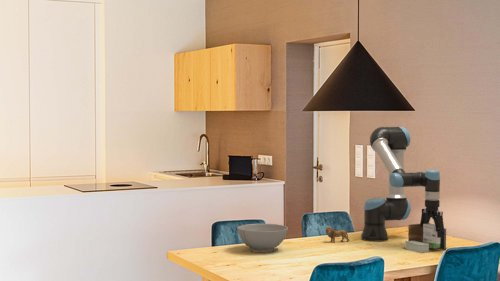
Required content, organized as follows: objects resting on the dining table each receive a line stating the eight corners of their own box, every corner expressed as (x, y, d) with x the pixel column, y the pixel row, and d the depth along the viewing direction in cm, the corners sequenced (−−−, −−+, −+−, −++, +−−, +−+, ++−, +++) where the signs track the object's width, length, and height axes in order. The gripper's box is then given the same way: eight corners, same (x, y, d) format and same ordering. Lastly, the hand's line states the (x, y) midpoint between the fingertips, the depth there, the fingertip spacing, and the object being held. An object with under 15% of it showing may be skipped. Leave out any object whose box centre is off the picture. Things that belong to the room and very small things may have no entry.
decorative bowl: (228, 252, 379) (228, 229, 378) (250, 243, 403) (250, 222, 402) (275, 256, 367) (275, 233, 367) (295, 247, 391) (295, 225, 391)
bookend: (431, 246, 390) (431, 226, 390) (434, 246, 391) (434, 225, 391) (444, 249, 381) (444, 228, 381) (447, 249, 382) (447, 228, 382)
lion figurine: (327, 243, 404) (327, 227, 404) (323, 242, 409) (324, 226, 409) (351, 242, 408) (351, 226, 408) (347, 240, 414) (347, 225, 413)
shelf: (400, 249, 386) (401, 225, 386) (428, 246, 395) (428, 222, 395) (421, 254, 372) (421, 229, 372) (449, 251, 381) (449, 227, 380)
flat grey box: (404, 248, 383) (405, 241, 383) (413, 248, 386) (413, 240, 386) (420, 252, 372) (420, 245, 372) (428, 251, 375) (429, 244, 375)
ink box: (440, 247, 379) (440, 225, 379) (433, 248, 377) (433, 225, 376) (429, 245, 387) (430, 223, 386) (422, 245, 385) (422, 223, 384)
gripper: (413, 197, 389) (412, 239, 390) (440, 202, 370) (440, 246, 371) (423, 196, 392) (423, 238, 393) (452, 201, 373) (451, 244, 374)
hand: (431, 242), depth 382 cm, fingers closed on ink box, 9 cm apart
